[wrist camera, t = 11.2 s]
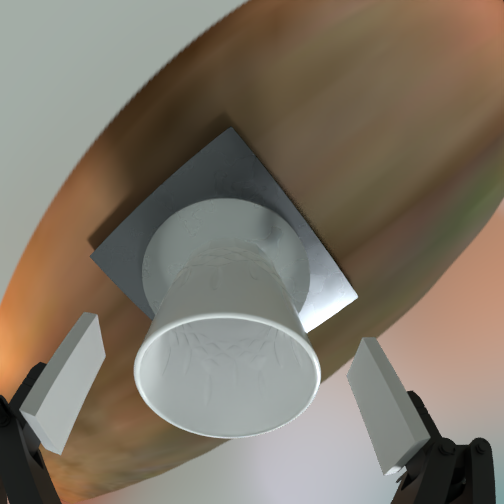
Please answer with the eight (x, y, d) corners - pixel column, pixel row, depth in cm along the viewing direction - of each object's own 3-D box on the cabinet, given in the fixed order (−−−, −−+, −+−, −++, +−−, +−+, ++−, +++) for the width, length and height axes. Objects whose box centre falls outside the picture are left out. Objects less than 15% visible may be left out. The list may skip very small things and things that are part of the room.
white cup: (155, 249, 19) (98, 339, 10) (267, 211, 19) (298, 284, 10) (198, 339, 22) (184, 447, 13) (296, 310, 22) (331, 416, 12)
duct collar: (231, 126, 18) (230, 125, 17) (354, 291, 24) (361, 301, 22) (94, 251, 21) (85, 260, 19) (225, 374, 26) (224, 388, 24)
